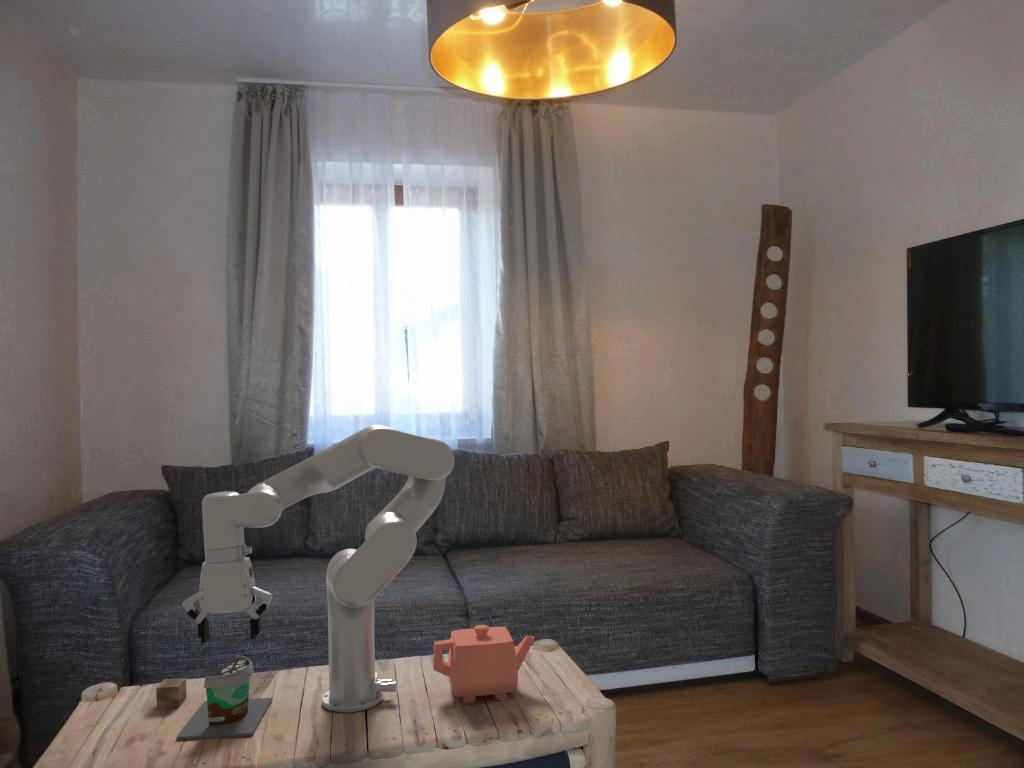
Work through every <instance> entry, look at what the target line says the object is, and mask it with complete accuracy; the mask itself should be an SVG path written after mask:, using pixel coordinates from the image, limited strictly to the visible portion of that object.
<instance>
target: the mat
mask: <svg viewBox="0 0 1024 768" xmlns="http://www.w3.org/2000/svg"><path fill="white" fill-rule="evenodd" d="M272 700H273V697H260V698H259V697H257V698H249V701H248V713H247V715H246V716H245V717H243V718H242V719H240V720H238V721H235V722H233V723H229V724H224V725H217V726H209V719H208V706H207V700H204V701H203V702H202V703H201V704H200V706H199V707H198V709H197V710H196V711H195V713H194V714H193V715H192V716H191V718H190V719H189V720H188V721H187V723H186V724H185V726H184V727H182V729H181V730H180V732H179V733H178V734H177V736H176V741H184V740H202V739H203V738H207V739H222V737H226V738H238V737H239V738H240V737H243V738H244V737H253V736H254V734H255V732H256V731H257V729H258V728H259V726H260V724H261V722H262V720H263V718H264V717H265V715H266V713H267V711H268V710H269V708H270V706H271V705H272V702H273V701H272ZM203 740H204V739H203Z"/></svg>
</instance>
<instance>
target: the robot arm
mask: <svg viewBox="0 0 1024 768" xmlns="http://www.w3.org/2000/svg"><path fill="white" fill-rule="evenodd" d="M454 466H455V455H454V452H453V450H452V448H451V447H450V446H449V445H448V444H447V443H445V442H444V441H441V440H439V439H435V438H432V437H426V436H425V437H423V436H421V435H416V434H412V433H408V432H404V431H401V430H398V429H394V428H392V427H389V426H385V425H381V424H372V425H369V426H367V427H364V428H362V429H361V430H359V431H357V432H355V433H353V434H351V435H349V436H347V437H346V438H344V439H342V440H340V441H338V442H336V443H334V444H333V445H331V446H328V447H327V448H325V449H324V450H321V451H319V452H317V453H315V454H313V455H311V456H309V457H307V458H306V459H304V460H302V461H301V462H298V463H297V464H294V465H293V466H290V467H288V468H286V469H284V470H283V471H282V470H281V471H280V472H278V473H276V474H275V475H272V476H271V477H268V478H267V479H264V480H263V481H261V482H259V483H257V484H255V486H253V487H251V488H250V489H249V490H248V491H247V492H245V493H238V492H236V491H219V492H214V493H212V492H211V493H209V494H206V495H205V496H203V498H202V500H201V512H202V513H201V514H202V530H203V547H204V561H203V562H202V564H201V570H200V574H199V575H200V577H199V591H198V592H196V593H194V594H193V595H192V596H190V597H188V598H186V599H184V601H182V603H181V605H182V607H183V608H184V610H185V611H186V612H187V615H188V616H189V618H191V619H192V620H194V623H195V624H197V635H198V638H199V639H200V643H201V644H202V645H203V644H205V643H206V642H207V641H208V640H209V639H210V637H211V636H210V623H209V621H210V620H209V618H207V616H208V615H209V614H222V613H223V614H224V613H235V612H246V613H247V614H248V615H249V616H250V618H251V619H249V629H250V630H249V631H250V640H251V641H252V640H255V639H257V637H258V636H259V634H260V633H261V630H262V629H261V615H262V614H263V613H264V612H265V611H266V610H267V608H268V607H269V604H270V603H271V600H272V598H273V596H274V595H273V593H271V592H269V591H266V590H264V589H261V588H259V587H256V580H255V575H254V569H253V566H252V565H253V564H252V561H251V558H250V557H248V556H247V555H249V554H252V553H253V547H252V546H247V544H246V542H245V529H244V528H267V527H268V528H269V527H270V526H272V525H273V524H275V523H276V522H277V521H278V520H279V519H280V518H281V516H282V513H283V511H284V510H285V509H287V508H289V507H290V506H292V505H294V504H296V503H299V502H300V501H302V500H305V499H306V498H307V499H308V498H309V497H311V496H315V495H318V494H325V493H330V492H332V491H336V490H338V489H339V488H341V487H344V486H345V485H346V484H348V483H350V482H352V481H353V480H355V479H358V477H361V476H362V475H364V474H366V473H368V472H370V471H373V470H374V469H376V468H378V469H380V470H385V471H388V472H391V473H395V474H400V475H403V476H408V478H407V481H406V482H405V484H404V485H403V487H402V488H401V489H400V491H399V492H398V493H397V494H396V495H395V497H394V498H393V499H392V500H391V501H390V502H389V503H388V504H387V505H385V507H384V508H383V509H382V510H381V511H380V512H378V514H377V515H376V516H375V517H373V518H372V519H371V521H370V522H369V523H368V524H367V526H366V528H365V532H364V539H365V540H364V542H363V543H362V544H361V545H360V546H359V547H358V548H357V549H356V548H345V549H342V550H340V551H338V552H336V554H334V555H333V556H332V558H331V559H330V561H329V562H328V565H327V568H326V574H325V579H326V580H325V581H326V593H327V595H326V596H327V597H326V598H327V599H326V600H327V619H328V620H327V621H328V622H327V624H328V628H327V632H328V633H327V634H328V636H327V637H328V683H329V684H328V685H329V688H328V689H329V690H326V692H324V693H323V694H322V697H321V705H322V707H323V708H325V709H327V710H328V711H332V712H335V713H355V712H361V711H364V710H368V709H371V708H374V707H375V706H376V705H378V704H379V703H381V702H382V700H383V698H384V693H385V692H387V693H396V692H397V681H392V678H385V679H381V678H379V673H378V672H376V656H375V651H376V649H375V601H374V600H375V598H376V597H377V596H378V595H379V594H380V593H382V591H383V590H384V589H385V588H386V587H387V586H388V585H389V583H390V582H392V581H393V580H394V578H395V577H396V576H397V575H398V574H399V573H400V572H401V571H402V570H403V568H404V567H405V566H406V565H407V564H408V563H409V561H410V560H411V558H412V557H413V555H414V553H415V552H416V549H417V544H418V541H417V539H418V538H417V534H416V533H417V532H418V531H419V530H420V528H421V527H422V526H423V525H424V524H425V522H427V520H428V519H429V518H430V516H432V514H433V513H434V512H435V511H436V509H437V508H438V506H439V504H440V502H441V501H442V498H443V496H444V493H445V488H446V483H447V482H446V481H447V477H448V475H450V474H451V472H452V471H453V469H454ZM257 597H258V598H260V599H262V602H261V605H260V606H259V607H258V605H257V604H256V602H257ZM197 601H199V609H197V608H196V607H195V606H194V603H195V602H197Z"/></svg>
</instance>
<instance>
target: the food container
mask: <svg viewBox="0 0 1024 768" xmlns="http://www.w3.org/2000/svg"><path fill="white" fill-rule="evenodd" d="M234 657H235V660H233V661H232V662H231V663H230V664H226V665H224V666H222V667H221V668H220V669H219V670H218V671H217V672H216V673H214V675H211V676H210V675H208V676H207V675H206V676H205V678H204V685H203V688H204V689H205V690H206V691H205V692H206V701H207V706H208V719H209V726H217V725H224V724H229V723H233V722H235V721H238V720H240V719H242V718H243V717H245V716H246V715H247V713H248V701H249V699H250V696H249V695H250V685H251V684H250V682H251V681H250V680H251V676H252V675H253V674H254V666H253V663H252V661H251V659H250V658H249V657H247V656H245V655H244V656H243V655H239V654H238V655H237V654H235V656H234Z"/></svg>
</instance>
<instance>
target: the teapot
mask: <svg viewBox="0 0 1024 768" xmlns="http://www.w3.org/2000/svg"><path fill="white" fill-rule="evenodd" d="M534 641H535V638H534V636H533V635H525V637H523V639H522V640H521V641H520V642H519V643H518V645H517V646H516V647H515V642H514V639H513V638H512V635H511V633H510V632H509V630H508V629H507V627H506V626H489V625H487V624H479V625H475V626H474V627H473V628H465V629H464V628H463V629H455V630H452V631H451V634H450V638H449V639H443V640H436V641H433V642H434V643H433V663H432V664H433V665H432V667H433V671H435V672H437V673H440V674H442V675H444V676H446V677H449V681H450V685H451V689H452V692H453V695H454V696H455V697H457V698H462V699H461V702H462V703H464V704H473V703H475V702H476V698H477V697H480V696H481V697H482V696H492V695H493V696H494V699H495V700H497V699H498V701H502V700H501V699H505V700H507V699H508V698H509V696H508V694H507V693H513V692H517V689H518V686H519V683H518V682H519V671H520V668H521V667H522V664H523V663H524V662H525V659H526V657H527V655H528V653H529V651H530V649H531V647H532V645H533V643H534ZM443 650H448V661H445V660H444V657H443ZM507 697H508V698H507ZM506 698H507V699H506Z"/></svg>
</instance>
